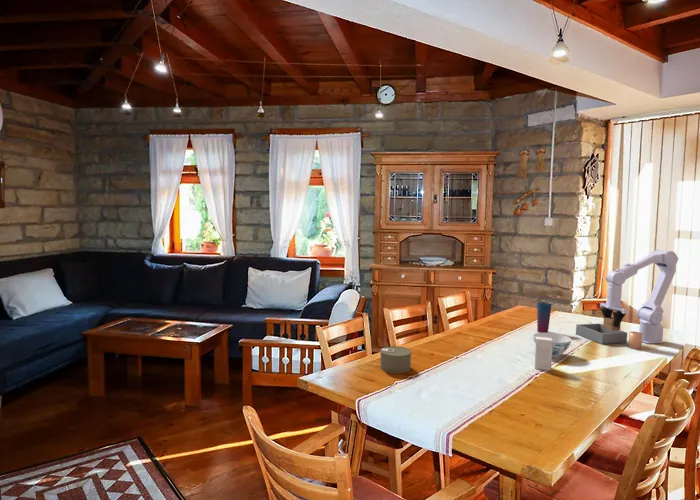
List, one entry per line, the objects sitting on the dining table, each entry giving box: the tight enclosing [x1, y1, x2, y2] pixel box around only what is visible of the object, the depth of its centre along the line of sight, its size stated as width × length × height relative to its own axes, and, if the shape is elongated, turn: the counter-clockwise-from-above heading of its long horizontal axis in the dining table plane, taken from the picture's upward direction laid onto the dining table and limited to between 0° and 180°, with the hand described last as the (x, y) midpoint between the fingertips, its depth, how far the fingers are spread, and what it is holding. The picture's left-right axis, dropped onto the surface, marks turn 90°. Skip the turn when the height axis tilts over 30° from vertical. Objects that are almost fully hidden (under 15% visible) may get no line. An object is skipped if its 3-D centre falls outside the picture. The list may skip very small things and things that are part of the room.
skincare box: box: [534, 337, 553, 371], centre depth 187 cm, size 6×4×12 cm
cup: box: [536, 300, 552, 333], centre depth 241 cm, size 7×7×15 cm
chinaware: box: [532, 332, 572, 358], centre depth 204 cm, size 15×15×8 cm
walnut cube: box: [602, 316, 622, 331], centre depth 225 cm, size 5×5×5 cm
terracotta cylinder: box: [628, 331, 643, 351], centre depth 216 cm, size 5×5×7 cm
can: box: [379, 345, 412, 374], centre depth 184 cm, size 12×12×7 cm
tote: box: [575, 322, 628, 346], centre depth 231 cm, size 14×18×5 cm
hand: (612, 325), depth 225 cm, fingers closed on walnut cube, 5 cm apart
